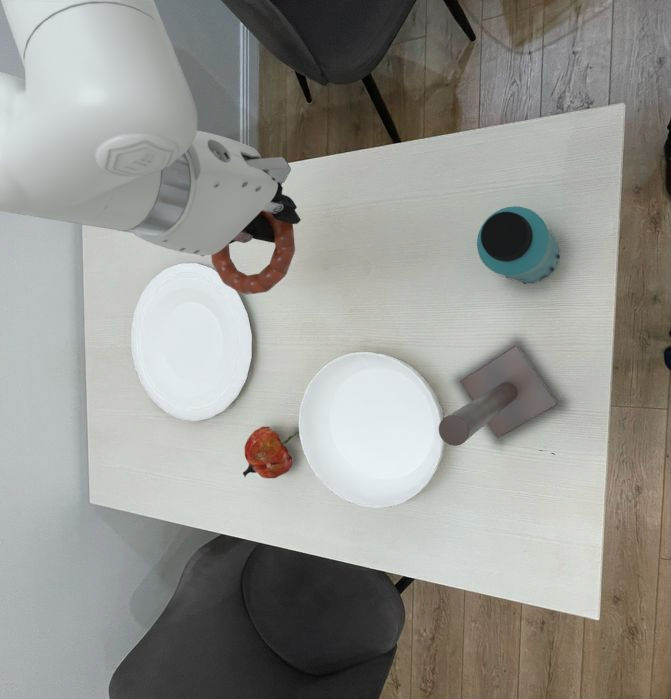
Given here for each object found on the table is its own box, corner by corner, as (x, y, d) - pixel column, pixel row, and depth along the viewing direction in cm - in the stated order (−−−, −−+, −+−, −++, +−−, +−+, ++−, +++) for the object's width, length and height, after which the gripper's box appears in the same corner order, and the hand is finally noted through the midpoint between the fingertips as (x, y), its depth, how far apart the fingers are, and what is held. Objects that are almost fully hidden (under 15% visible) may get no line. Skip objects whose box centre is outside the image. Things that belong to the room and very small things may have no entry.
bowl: (331, 495, 76) (309, 509, 71) (310, 359, 77) (287, 362, 71) (467, 492, 67) (454, 508, 62) (443, 338, 68) (428, 340, 62)
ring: (265, 175, 57) (254, 170, 55) (315, 253, 54) (305, 251, 53) (204, 238, 61) (192, 235, 59) (248, 313, 59) (236, 313, 57)
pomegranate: (286, 412, 82) (228, 448, 80) (288, 408, 75) (225, 447, 72) (312, 454, 81) (254, 492, 79) (317, 453, 74) (254, 494, 72)
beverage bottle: (505, 229, 64) (464, 195, 46) (566, 228, 61) (547, 192, 43) (501, 285, 64) (459, 272, 46) (561, 286, 61) (541, 274, 43)
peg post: (517, 345, 64) (466, 360, 41) (558, 402, 62) (528, 450, 40) (462, 380, 67) (387, 412, 45) (499, 436, 65) (440, 498, 43)
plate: (266, 418, 81) (259, 420, 79) (146, 420, 92) (137, 422, 91) (250, 251, 81) (243, 250, 79) (131, 275, 92) (122, 274, 90)
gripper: (186, 62, 37) (318, 138, 53) (67, 214, 44) (216, 241, 60) (237, 143, 36) (357, 196, 52) (106, 288, 42) (248, 295, 59)
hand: (281, 220), depth 56 cm, fingers closed on ring, 2 cm apart
